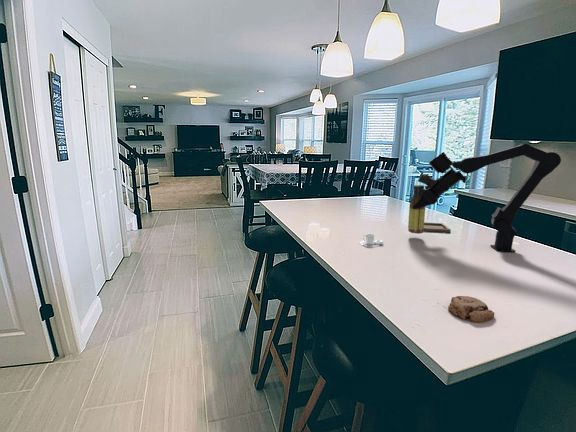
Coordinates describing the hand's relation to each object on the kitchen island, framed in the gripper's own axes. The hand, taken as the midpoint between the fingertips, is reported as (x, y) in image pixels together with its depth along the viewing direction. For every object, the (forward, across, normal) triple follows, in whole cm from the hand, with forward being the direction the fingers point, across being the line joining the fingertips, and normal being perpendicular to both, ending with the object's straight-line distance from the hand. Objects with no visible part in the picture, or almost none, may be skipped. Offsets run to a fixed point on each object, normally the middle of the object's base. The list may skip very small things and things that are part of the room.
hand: (414, 206), depth 142 cm
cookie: (-4, +62, +23) cm, 66 cm away
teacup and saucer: (+18, +20, +2) cm, 27 cm away
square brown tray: (+4, -20, +15) cm, 26 cm away
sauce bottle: (+7, 0, +9) cm, 11 cm away
